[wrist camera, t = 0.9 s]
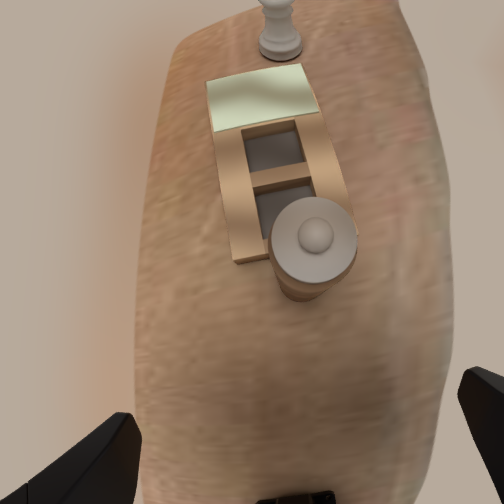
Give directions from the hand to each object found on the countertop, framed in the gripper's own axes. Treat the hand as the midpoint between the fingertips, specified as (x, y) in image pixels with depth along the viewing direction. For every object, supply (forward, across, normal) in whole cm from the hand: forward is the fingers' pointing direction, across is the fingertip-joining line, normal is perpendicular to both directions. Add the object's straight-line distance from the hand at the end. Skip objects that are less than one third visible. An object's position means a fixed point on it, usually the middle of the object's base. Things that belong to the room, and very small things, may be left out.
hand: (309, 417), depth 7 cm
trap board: (+21, -1, -6) cm, 22 cm away
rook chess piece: (+28, -4, -18) cm, 33 cm away
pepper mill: (+16, -2, +3) cm, 17 cm away
